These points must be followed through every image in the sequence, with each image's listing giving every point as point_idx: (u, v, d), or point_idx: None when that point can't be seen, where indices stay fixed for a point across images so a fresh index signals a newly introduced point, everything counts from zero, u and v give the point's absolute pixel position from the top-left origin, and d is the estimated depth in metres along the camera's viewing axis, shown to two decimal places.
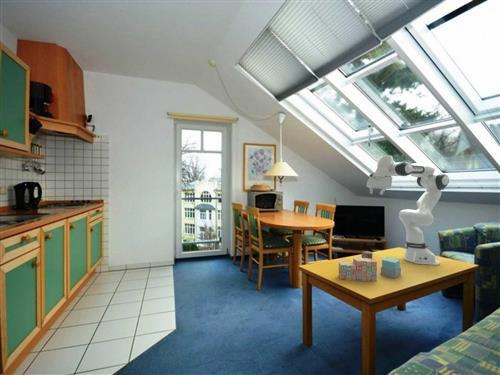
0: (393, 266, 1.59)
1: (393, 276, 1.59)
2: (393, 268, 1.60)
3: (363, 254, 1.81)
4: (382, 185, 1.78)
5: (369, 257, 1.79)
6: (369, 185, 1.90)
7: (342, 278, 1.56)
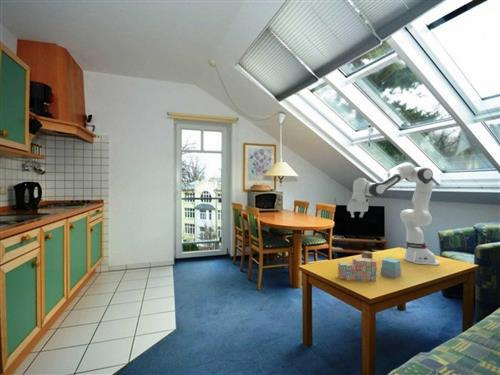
0: (393, 266, 1.59)
1: (393, 276, 1.59)
2: (393, 268, 1.60)
3: (363, 254, 1.81)
4: None
5: (369, 257, 1.79)
6: None
7: (342, 278, 1.56)
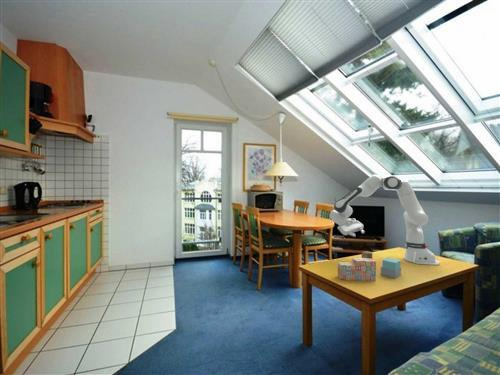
0: (394, 266, 1.59)
1: (393, 276, 1.59)
2: (393, 268, 1.60)
3: (363, 254, 1.81)
4: None
5: (369, 257, 1.79)
6: None
7: (342, 278, 1.56)
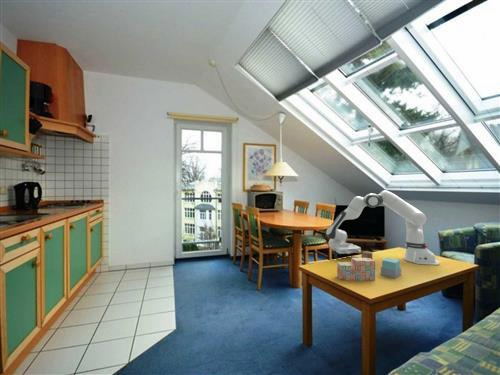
0: (394, 266, 1.59)
1: (393, 276, 1.59)
2: (393, 268, 1.59)
3: (363, 254, 1.81)
4: None
5: (369, 257, 1.79)
6: None
7: (341, 278, 1.56)
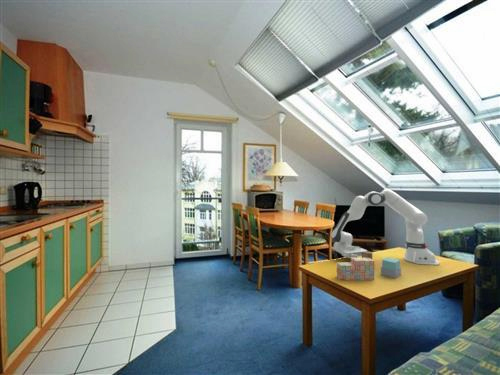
0: (394, 266, 1.59)
1: (393, 276, 1.59)
2: (393, 268, 1.60)
3: (363, 254, 1.81)
4: None
5: (369, 257, 1.79)
6: None
7: (341, 278, 1.56)
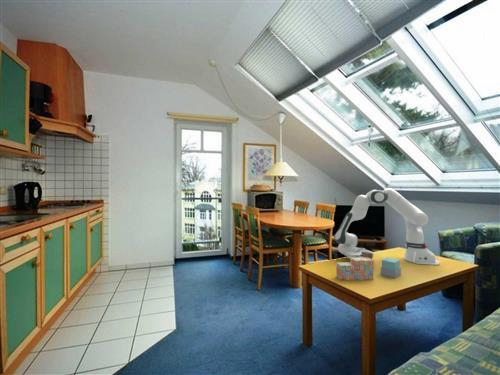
0: (393, 266, 1.60)
1: (393, 276, 1.59)
2: (393, 268, 1.60)
3: (363, 254, 1.81)
4: None
5: (369, 257, 1.79)
6: None
7: (341, 279, 1.55)
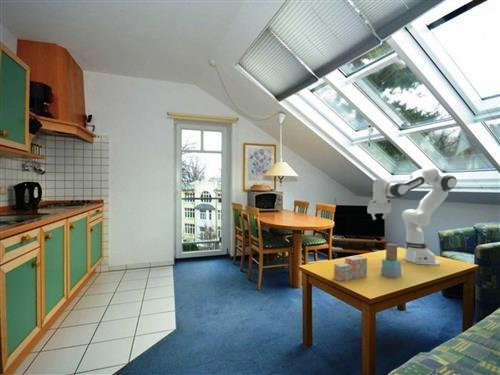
0: (393, 266, 1.60)
1: (394, 276, 1.59)
2: (393, 268, 1.60)
3: (389, 247, 1.63)
4: None
5: (395, 250, 1.63)
6: None
7: (342, 280, 1.54)
